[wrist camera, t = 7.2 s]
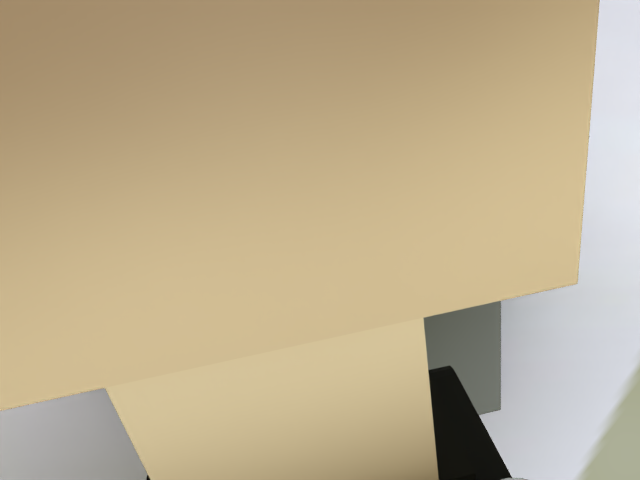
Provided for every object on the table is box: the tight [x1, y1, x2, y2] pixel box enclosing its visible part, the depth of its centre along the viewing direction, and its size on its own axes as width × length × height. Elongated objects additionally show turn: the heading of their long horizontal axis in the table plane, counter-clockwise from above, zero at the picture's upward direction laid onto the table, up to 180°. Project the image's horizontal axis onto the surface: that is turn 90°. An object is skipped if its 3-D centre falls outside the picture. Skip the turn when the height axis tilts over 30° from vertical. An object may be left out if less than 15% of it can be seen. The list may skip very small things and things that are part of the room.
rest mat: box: [423, 301, 501, 415], centre depth 14 cm, size 20×13×1 cm, turn 10°
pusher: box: [0, 0, 600, 480], centre depth 8 cm, size 15×6×6 cm, turn 10°
